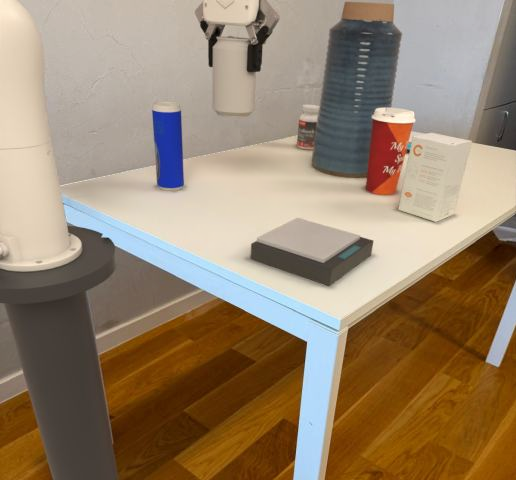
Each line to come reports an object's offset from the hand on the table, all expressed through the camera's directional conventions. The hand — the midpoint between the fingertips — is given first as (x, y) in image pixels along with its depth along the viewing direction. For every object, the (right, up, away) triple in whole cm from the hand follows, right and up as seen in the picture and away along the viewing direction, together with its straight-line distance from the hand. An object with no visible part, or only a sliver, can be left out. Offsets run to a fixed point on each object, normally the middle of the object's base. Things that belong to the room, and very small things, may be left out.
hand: (234, 68), depth 86 cm
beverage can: (-13, -17, +12) cm, 25 cm away
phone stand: (+40, +4, +46) cm, 61 cm away
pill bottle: (+17, +4, +45) cm, 48 cm away
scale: (+12, -35, -12) cm, 39 cm away
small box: (+35, -23, +6) cm, 42 cm away
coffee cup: (+29, -16, +17) cm, 37 cm away
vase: (+24, -7, +29) cm, 39 cm away
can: (0, -6, +4) cm, 7 cm away
